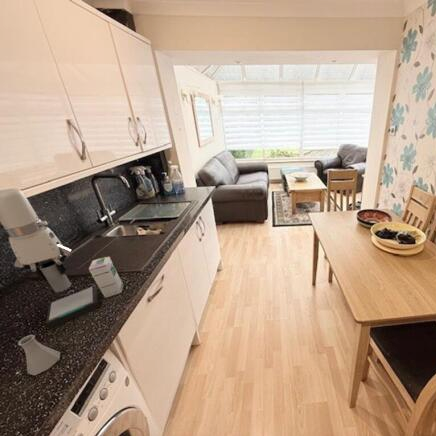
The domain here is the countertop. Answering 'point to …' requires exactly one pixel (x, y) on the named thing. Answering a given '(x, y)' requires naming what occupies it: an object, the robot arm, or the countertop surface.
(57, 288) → the planter
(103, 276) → the syrup box
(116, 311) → the countertop surface
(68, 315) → the scale
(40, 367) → the flask
